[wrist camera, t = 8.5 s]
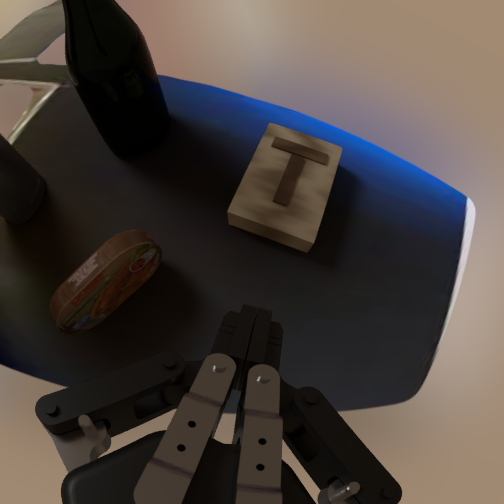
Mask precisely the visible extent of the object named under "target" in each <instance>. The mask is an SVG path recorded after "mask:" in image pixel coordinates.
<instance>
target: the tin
mask: <svg viewBox="0 0 504 504" xmlns="http://www.w3.org/2000/svg"><path fill="white" fill-rule="evenodd" d="M161 260H162V249H161V248H160V246H159V245H157V244H156V243H155V242H154V240H153V239H152V238H151V236H150V235H149V234H147V233H146V232H144V231H142V230H137V229H133V230H127V231H124V232H121V233H119V234H117V235H115V236H113V237H112V238H110V239H109V240H107V241H106V242H105V243H104V244H102V245H101V246H100V247H99V248H98V249H97V250H96V251H95V252H94V253H93V254H92V255H91V256H89V257H88V258H87V259H86V260H85V261H84V262H83V263H82V264H81V265H80V266H79V267H78V268H77V269H76V270H75V271H74V272H73V273H72V274H71V275H70V276H69V277H68V278H67V279H66V280H65V281H64V282H63V283H62V284H61V285H60V286H59V287H58V288H57V290H56V291H55V292H54V294H53V296H52V298H51V301H50V310H51V313H52V316H53V318H54V320H55V322H56V324H57V328H58V329H59V331H61V332H62V333H64V334H77V333H81V332H84V331H86V330H89V329H91V328H93V327H94V326H96V325H98V324H99V323H100V322H102V321H103V320H104V319H105V318H106V317H108V316H109V315H110V314H111V313H112V312H113V311H114V310H115V309H116V308H117V307H118V306H119V305H121V304H122V303H123V302H124V301H125V300H126V299H127V298H128V297H129V296H130V295H132V294H133V293H134V292H135V291H136V290H137V289H138V288H139V287H141V286H142V285H143V284H144V283H145V282H146V281H147V280H148V279H149V278H150V277H151V276H152V275H153V274H154V273H155V271H156V270H157V268H158V266H159V265H160V262H161Z"/></svg>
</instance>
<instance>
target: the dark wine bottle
mask: <svg viewBox="0 0 504 504" xmlns="http://www.w3.org/2000/svg"><path fill="white" fill-rule="evenodd" d="M62 4H63V9H64V15H65V59H66V64H67V68H68V72H69V75H70V78H71V80H72V82H73V84H74V87H75V89H76V91H77V93H78V95H79V97H80V99H81V100H82V102H83V104H84V106H85V108H86V110H87V112H88V113H89V115H90V117H91V119H92V121H93V122H94V124H95V126H96V128H97V129H98V131H99V133H100V135H101V136H102V138H103V140H104V141H105V143H106V144H107V145H108V147H109V148H110V150H111V151H113V152H114V153H116V154H119V155H123V156H134V155H139V154H141V153H144V152H146V151H148V150H150V149H152V148H153V147H155V146H156V145H157V144H158V143H159V142H161V141H162V139H163V138H164V137H165V135H166V133H167V132H168V129H169V126H170V117H169V112H168V108H167V105H166V102H165V99H164V95H163V92H162V89H161V86H160V83H159V80H158V76H157V73H156V70H155V67H154V64H153V61H152V57H151V54H150V51H149V49H148V46H147V43H146V41H145V38H144V36H143V34H142V32H141V30H140V29H139V27H138V26H137V24H136V23H135V22H134V21H133V20H132V18H131V17H130V16H129V15H128V14H127V13H126V12H125V11H124V10H123V9H122V8H121V7H120V6H119V5H118V3H117V2H116V1H115V0H62Z"/></svg>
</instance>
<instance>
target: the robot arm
mask: <svg viewBox="0 0 504 504" xmlns="http://www.w3.org/2000/svg"><path fill="white" fill-rule="evenodd" d="M44 193H45V181H44V178H43V177H42V176H41V175H40V174H39V173H38V172H37V171H36V170H35V169H34V168H33V167H32V166H31V165H30V164H29V163H28V162H27V161H26V160H25V159H24V158H23V157H22V156H21V155H20V154H19V153H18V151H17V150H16V149H15V148H14V147H13V146H12V145H11V144H10V143H9V142H8V141H7V140H6V139H5V138H4V137H3V136H2V135H1V134H0V216H2V217H3V218H5V219H6V220H8V221H9V222H11V223H13V224H22V223H24V222H26V221H27V220H29V219H30V218H31V217H32V216H33V215H34V214H35V212H36V211H37V209H38V208H39V206H40V204H41V202H42V200H43V197H44ZM256 310H257V307H254V306H250V305H246V304H243V306H242V309H241V312H240V313H237V312H233V311H230V312H228V313H227V314H226V315H225V316H224V317H223V320H222V323H221V325H220V328H219V331H218V334H217V337H216V339H215V342H214V345H213V348H212V350H211V353H210V354H209V356H208V357H207V358H205V359H203V360H200V361H184V359H183V358H182V357H181V356H180V355H179V354H177V353H174V352H170V351H165V352H161V353H159V354H156V355H154V356H151V357H149V358H146V359H144V360H141V361H139V362H136V363H133V364H131V365H128V366H126V367H123V368H121V369H118V370H115V371H113V372H110V373H107V374H105V375H102V376H99V377H96V378H94V379H91V380H88V381H85V382H83V383H80V384H77V385H74V386H71V387H68V388H65V389H63V390H60V391H57V392H54V393H51V394H48V395H45V396H43V397H41V398H40V399H39V400H38V401H37V403H36V406H35V412H36V415H37V417H38V418H39V420H40V421H41V422H42V424H43V426H44V428H45V429H46V430H47V432H48V433H49V434H50V435H51V437H52V439H53V441H54V443H55V446H56V448H57V450H58V452H59V454H60V457H61V459H62V461H63V463H64V465H65V467H66V469H67V471H68V474H67V475H66V477H65V478H64V480H63V483H62V487H61V497H62V503H63V504H316V503H315V501H314V500H313V499H312V497H311V496H310V494H309V493H308V491H307V490H306V489H305V487H304V486H303V484H302V483H301V481H300V480H299V478H298V477H297V476H296V474H295V472H294V471H293V470H292V468H291V467H290V466H289V465H288V464H286V463H285V462H284V461H283V460H282V458H281V457H282V439H283V440H284V441H285V443H286V444H287V446H288V447H289V448H290V450H291V451H292V453H293V454H294V455H295V457H296V458H297V459H298V461H299V462H300V464H301V465H302V466H303V468H304V469H305V470H306V472H307V473H308V474H309V475H310V477H311V478H312V480H313V481H314V482H315V484H316V485H317V486H318V488H319V489H320V490H321V491H320V493H319V495H318V504H398V502H399V501H400V500H401V497H402V489H401V487H400V485H399V484H398V482H397V481H396V480H395V479H394V478H393V477H392V476H391V474H390V473H389V472H388V471H387V470H386V469H385V468H384V467H383V465H382V464H381V463H380V462H379V461H378V460H377V459H376V457H375V456H374V455H373V454H372V453H371V452H370V450H369V449H368V448H367V447H366V446H365V445H364V443H363V442H362V441H361V440H360V439H359V438H358V436H357V435H356V434H355V433H354V432H353V430H352V429H351V428H350V427H349V426H348V425H347V423H346V422H345V421H344V420H343V418H342V417H341V416H340V415H339V414H338V412H337V411H336V410H335V409H334V408H333V406H332V405H331V404H330V403H329V402H328V400H327V399H326V398H325V397H324V395H323V394H322V393H321V392H320V391H319V390H317V389H315V388H313V387H302V388H300V389H296V388H294V387H292V386H290V385H288V384H287V383H286V382H284V381H283V379H282V378H281V376H280V374H279V364H280V356H281V346H282V338H283V329H282V327H281V325H280V323H277V322H272V321H271V316H272V311H270V310H266V309H262V308H258V310H257V314H256ZM255 314H256V317H255ZM254 318H255V321H254ZM253 323H254V324H253ZM252 327H253V328H252ZM242 367H243V368H242ZM241 371H242V372H241ZM240 374H241V377H240ZM239 377H240V381H239ZM238 381H239V385H238V389H237V390H239V391H242V392H241V396H240V400H239V403H238V407H237V414H236V422H235V428H234V436H233V441H232V444H223V443H221V442H219V441H217V440H215V439H213V438H214V435H215V432H216V429H217V427H218V424H219V422H220V419H221V416H222V414H223V411H224V408H225V406H226V403H227V401H228V399H229V397H230V394H231V391H232V389H234V390H236V387H237V384H238ZM177 407H178V408H177ZM175 408H177V410H176V412H175V415H174V416H173V418H172V420H171V422H170V424H169V426H168V428H167V430H163V431H158V432H154V433H151V434H148V435H146V436H144V437H142V438H140V439H138V440H136V441H135V442H132V443H130V444H128V445H126V446H124V447H122V448H120V449H118V450H116V451H113V452H111V453H109V454H107V455H105V456H103V457H100V458H98V457H99V456H100V455H101V454H103V453H104V452H106V451H107V450H108V449H109V448H110V445H111V437H114V436H116V435H118V434H121V433H123V432H125V431H128V430H130V429H132V428H135V427H137V426H139V425H141V424H143V423H146V422H148V421H150V420H152V419H154V418H156V417H159V416H161V415H163V414H165V413H167V412H169V411H171V410H173V409H175Z"/></svg>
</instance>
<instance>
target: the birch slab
mask: <svg viewBox="0 0 504 504" xmlns="http://www.w3.org/2000/svg"><path fill="white" fill-rule="evenodd" d="M341 152H342V147H339V146H337V145H334V144H331V143H329V142H326V141H323V140H320V139H318V138H315V137H312V136H309V135H306V134H303V133H300V132H297V131H294V130H291V129H288V128H285V127H282V126H279V125H276V124H272V123H269V125H268V127H267V129H266V131H265V133H264V135H263V137H262V139H261V141H260V143H259V145H258V148H257V150H256V152H255V154H254V156H253V158H252V160H251V162H250V164H249V166H248V168H247V170H246V172H245V175H244V177H243V179H242V181H241V183H240V185H239V187H238V189H237V191H236V194H235V196H234V198H233V200H232V202H231V204H230V207H229V209H228V211H227V214H228V221H229V224H230V225H233V226H235V227H238V228H241V229H244V230H246V231H249V232H252V233H255V234H257V235H260V236H263V237H266V238H268V239H271V240H274V241H276V242H279V243H282V244H284V245H287V246H290V247H293V248H295V249H298V250H301V251H303V252H306V253H308V252H309V250H310V248H311V247H312V245H313V244H314V241H315V238H316V235H317V232H318V229H319V226H320V223H321V220H322V216H323V213H324V210H325V207H326V203H327V200H328V197H329V194H330V190H331V187H332V183H333V180H334V177H335V173H336V170H337V166H338V163H339V159H340V156H341Z"/></svg>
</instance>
